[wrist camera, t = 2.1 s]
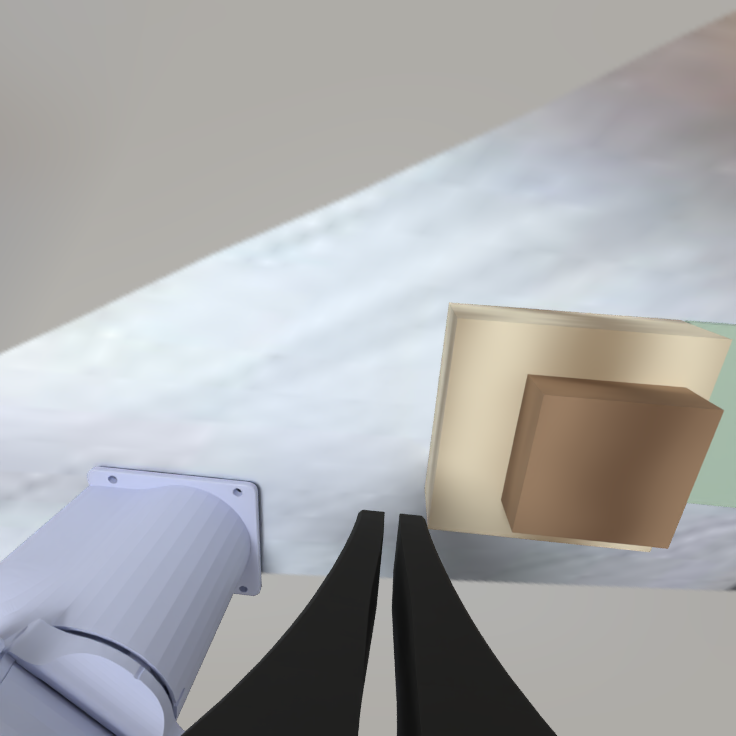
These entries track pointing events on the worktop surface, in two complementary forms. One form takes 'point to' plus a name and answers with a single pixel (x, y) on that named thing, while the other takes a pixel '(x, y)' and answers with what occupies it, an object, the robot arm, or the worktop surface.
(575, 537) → the walnut coaster
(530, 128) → the worktop surface
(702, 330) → the birch board
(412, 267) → the worktop surface
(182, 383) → the worktop surface
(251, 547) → the robot arm
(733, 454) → the green mat
